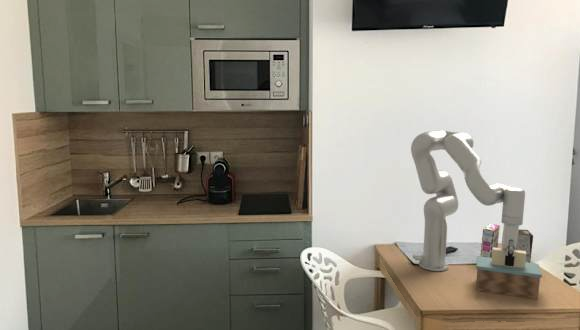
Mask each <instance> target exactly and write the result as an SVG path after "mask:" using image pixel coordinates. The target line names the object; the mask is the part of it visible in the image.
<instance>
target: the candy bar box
mask: <svg viewBox="0 0 580 330" xmlns="http://www.w3.org/2000/svg"><path fill="white" fill-rule="evenodd" d="M500 228H501V226H500V225H498V224H493V223H489V224H487V225H486V226H485V227H483V228H482V237H481V249H480V256H481V257H489V258H492V250H493V247H495V248H499V247H498V245H499V237H500Z"/></svg>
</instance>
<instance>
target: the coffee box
mask: <svg viewBox="0 0 580 330" xmlns="http://www.w3.org/2000/svg"><path fill="white" fill-rule="evenodd" d="M533 242H534V235H533V233H532V232H530V231H529V230H528V229H519V231H518V241H517V247H516V250H520V251H526V262H529V263H532V262H531V261H532V252H533V251H532V250H533Z"/></svg>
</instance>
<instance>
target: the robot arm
mask: <svg viewBox="0 0 580 330" xmlns="http://www.w3.org/2000/svg"><path fill="white" fill-rule="evenodd" d="M473 148H474V139H473V137H472V136H471V135H470V134H468V133H465V132H460V131H459V132H458V131H450V130H449V131H448V130H433V131H425V132H422V133H419V134H418V135H417V136H415V138H414V139H413V140H412V142H411V144H410V153H411V156H412V160H413V163H414V165H415V169H416V173H417V177H418V181H419V184H420V188H421V190H422V191H423V193H425V194H427V195H434V194H436V195H435V196H433V197H430V198H429V199H427V200H426V201H425V202H424V204H423V205H424V206H423V215H424V231H423V232H424V234H423V235H424V236H423V248H422V249H423V252H422V254H414V253H413V254H412V259H414V261H419V262H418V266H419V267H420V268H422V269H424V270H425V271H431V272H444V271H447V270H449V263H448V262H446V253H447V242H448V241H447V240H448V239H447V238H448V223H447V221H446V217H448V216H451V215H453V214H455V213H456V212H457V210H458V208H459V200H458V196H457V192H456V188H455V184H454V181H453V178H452V177H451V175H450V174H449V172H447V171H446V170H438V167H437V164H436V161H435V159H434V157H433V156H432V154H431V153H432V152H433V151H434V152H435V151H440V150H442V151H443V150H444V151H445V152H447V154H448V155H449V156H450V158H451V160H453V162H454V163H455V164H456V165H457V167H459V169H460V170H461V172H462V173H463V178H464V181H465V185H466V187H467V188H468V190H469V191H470V193H471V194H472V195H473V196H474V198H475V199H476V200H477V201H478V202H479V203H480V204H482V205H484V206H488V207H489V206H494V205H496V204H501V203H502V211H501V223H502V224H503V228H502V236H501V237H502V239H501V246H502V247H501V248H503V249H506V255H505V265H506V266H514V258H515V256H514V250H516V247H517V241H518V231H519V228H520V227H521V226H522V225H523V223H524V211H525V210H524V209H525V199H526V192H525V190H524V188H521V187H511V186H507V185H505V184H502V183H494V184H490V185H489V184H488V183H487V182H486V180H485V179H484V178H483V176H482V173H481V170H480V167H481V164H482V160H481V158H480V157H479V156H478V154H476V152H475V151H474V149H473ZM508 250H509V251H508Z"/></svg>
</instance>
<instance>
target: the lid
mask: <svg viewBox="0 0 580 330" xmlns="http://www.w3.org/2000/svg"><path fill="white" fill-rule="evenodd" d="M508 251H509V250H508ZM505 255H506V249H503V248H502V247H498V248H495V247H493V250H492V258H489V257H481V255H480V256H479V255H478V256H476V270H477V269H480V270H487V271H495V272H502V273H510V274H517V275H525V276H532V277H540V279H541V278H542V279H543V274H542V271H541V270H542V269H541V267H540V264H539V263H537V262H536V263H535V262H530V263H529V262H526V251H520V250H514V256H515V258H514V266H506V265H505Z"/></svg>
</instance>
